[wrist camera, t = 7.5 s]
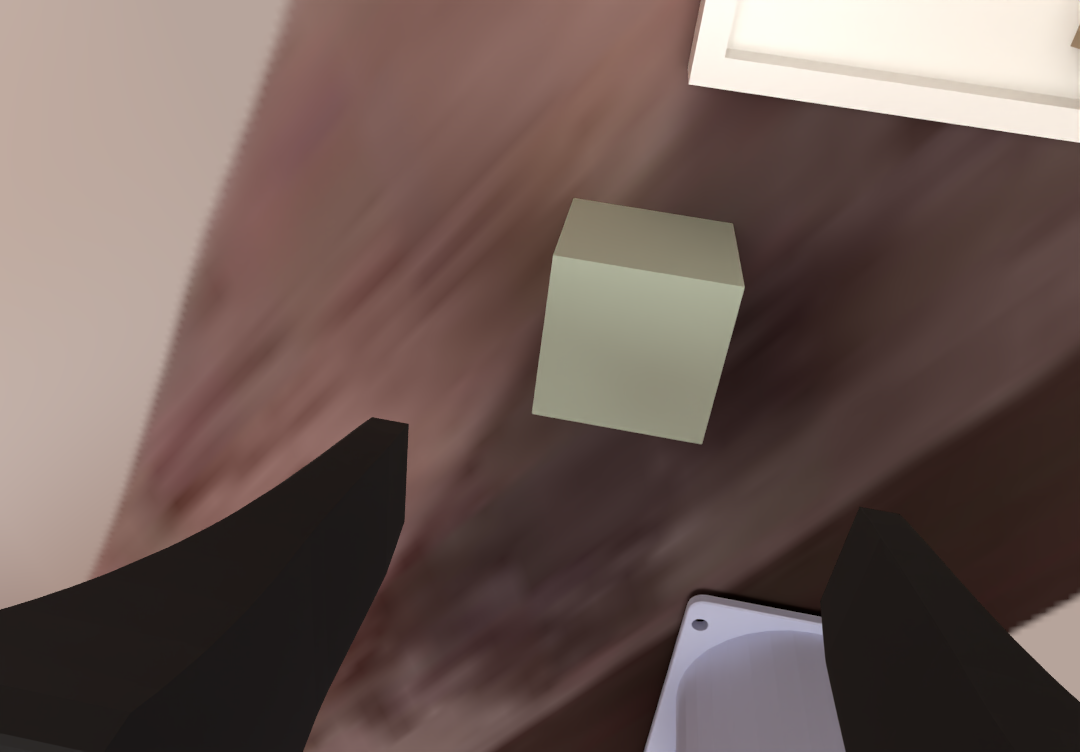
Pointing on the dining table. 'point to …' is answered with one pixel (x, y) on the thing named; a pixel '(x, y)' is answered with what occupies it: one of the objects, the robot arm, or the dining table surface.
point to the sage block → (638, 320)
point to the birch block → (1076, 39)
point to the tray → (902, 58)
